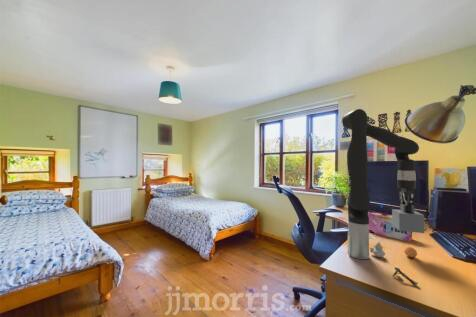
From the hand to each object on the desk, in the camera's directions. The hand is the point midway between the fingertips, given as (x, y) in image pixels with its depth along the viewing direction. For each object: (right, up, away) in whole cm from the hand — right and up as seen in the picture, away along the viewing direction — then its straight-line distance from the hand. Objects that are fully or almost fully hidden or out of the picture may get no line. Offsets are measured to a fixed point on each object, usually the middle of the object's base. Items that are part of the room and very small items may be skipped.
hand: (406, 211), depth 108 cm
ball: (0, -20, -3) cm, 20 cm away
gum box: (+13, -24, +30) cm, 40 cm away
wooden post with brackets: (-21, -22, -25) cm, 40 cm away
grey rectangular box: (0, -9, 0) cm, 9 cm away
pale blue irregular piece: (-17, -23, -2) cm, 28 cm away
